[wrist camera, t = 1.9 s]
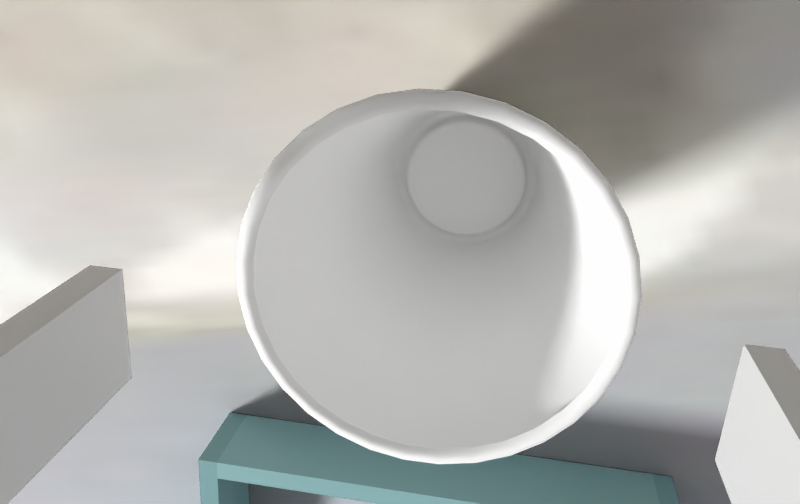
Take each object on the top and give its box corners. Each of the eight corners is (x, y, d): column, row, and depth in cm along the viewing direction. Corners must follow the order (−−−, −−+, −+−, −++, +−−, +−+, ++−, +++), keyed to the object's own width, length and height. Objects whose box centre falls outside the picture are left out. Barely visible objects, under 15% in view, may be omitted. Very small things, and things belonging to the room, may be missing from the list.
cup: (605, 33, 25) (654, 80, 15) (597, 296, 29) (633, 476, 19) (326, 48, 27) (204, 99, 17) (351, 294, 31) (261, 458, 20)
